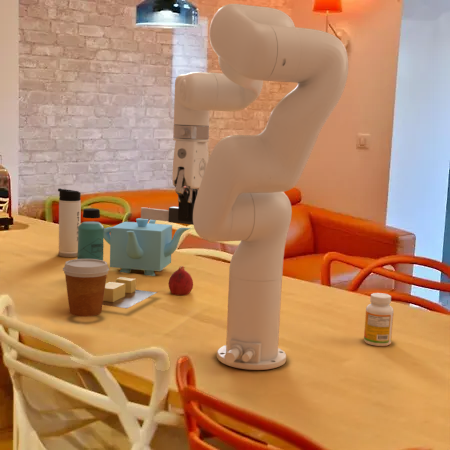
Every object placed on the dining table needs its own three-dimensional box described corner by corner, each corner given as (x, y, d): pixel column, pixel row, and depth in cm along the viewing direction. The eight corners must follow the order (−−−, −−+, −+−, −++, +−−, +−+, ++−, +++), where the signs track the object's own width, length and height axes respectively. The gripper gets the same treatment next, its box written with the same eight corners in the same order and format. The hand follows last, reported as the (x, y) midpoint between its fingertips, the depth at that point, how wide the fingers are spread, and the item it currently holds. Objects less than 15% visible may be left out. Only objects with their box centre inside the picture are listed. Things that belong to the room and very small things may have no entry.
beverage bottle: (70, 290, 180) (71, 208, 177) (87, 285, 186) (89, 205, 183) (92, 294, 177) (93, 211, 174) (108, 289, 183) (110, 208, 180)
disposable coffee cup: (63, 325, 151) (64, 268, 149) (61, 313, 160) (61, 258, 158) (110, 324, 153) (112, 267, 152) (105, 311, 162) (106, 258, 161)
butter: (113, 302, 165) (113, 289, 165) (96, 300, 166) (97, 287, 166) (125, 296, 171) (125, 283, 170) (109, 294, 172) (109, 281, 171)
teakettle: (96, 268, 206) (96, 215, 204) (154, 262, 217) (156, 212, 215) (128, 282, 191) (129, 225, 189) (189, 275, 202) (191, 221, 200)
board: (127, 314, 161) (127, 308, 161) (78, 308, 165) (78, 301, 164) (157, 298, 176) (157, 292, 176) (111, 292, 180) (112, 286, 179)
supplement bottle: (371, 336, 153) (375, 290, 151) (395, 342, 149) (399, 295, 148) (358, 342, 148) (362, 294, 147) (383, 348, 145) (386, 300, 144)
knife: (206, 224, 160) (207, 209, 159) (202, 225, 158) (203, 211, 157) (143, 217, 164) (143, 203, 164) (138, 219, 162) (139, 204, 162)
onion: (188, 303, 173) (190, 269, 172) (165, 301, 174) (166, 267, 173) (194, 297, 178) (196, 264, 177) (171, 295, 180) (172, 262, 178)
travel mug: (55, 253, 223) (55, 187, 220) (77, 253, 226) (77, 187, 223) (60, 258, 217) (60, 189, 214) (82, 256, 220) (83, 189, 217)
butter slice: (131, 293, 174) (131, 280, 173) (115, 291, 175) (115, 278, 174) (135, 291, 176) (136, 278, 175) (120, 289, 177) (120, 276, 177)
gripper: (193, 135, 148) (190, 226, 151) (220, 134, 163) (217, 217, 166) (159, 133, 151) (156, 223, 153) (188, 132, 166) (185, 214, 169)
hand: (188, 219), depth 160 cm, fingers closed on knife, 2 cm apart
